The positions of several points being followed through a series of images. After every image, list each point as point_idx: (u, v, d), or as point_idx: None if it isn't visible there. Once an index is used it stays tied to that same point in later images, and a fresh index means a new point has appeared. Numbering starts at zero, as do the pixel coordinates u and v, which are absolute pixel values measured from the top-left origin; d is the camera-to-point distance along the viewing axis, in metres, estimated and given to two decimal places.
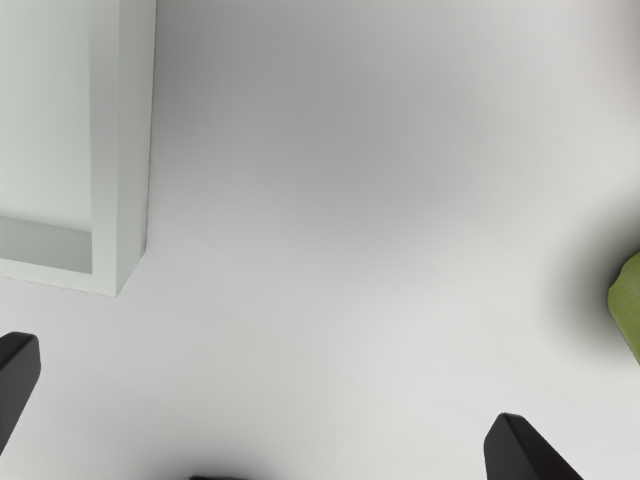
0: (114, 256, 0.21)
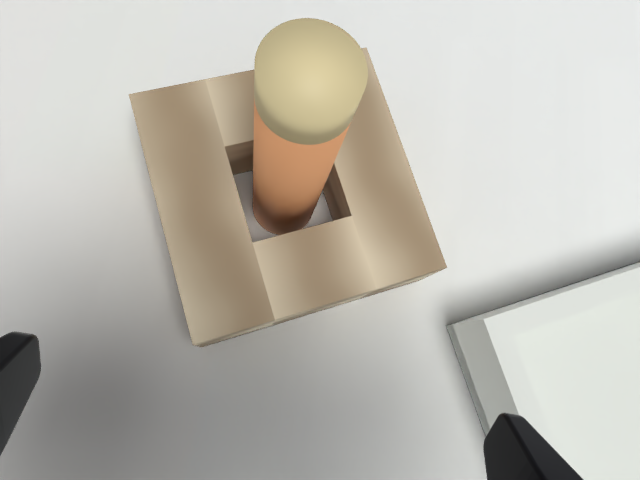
0: None
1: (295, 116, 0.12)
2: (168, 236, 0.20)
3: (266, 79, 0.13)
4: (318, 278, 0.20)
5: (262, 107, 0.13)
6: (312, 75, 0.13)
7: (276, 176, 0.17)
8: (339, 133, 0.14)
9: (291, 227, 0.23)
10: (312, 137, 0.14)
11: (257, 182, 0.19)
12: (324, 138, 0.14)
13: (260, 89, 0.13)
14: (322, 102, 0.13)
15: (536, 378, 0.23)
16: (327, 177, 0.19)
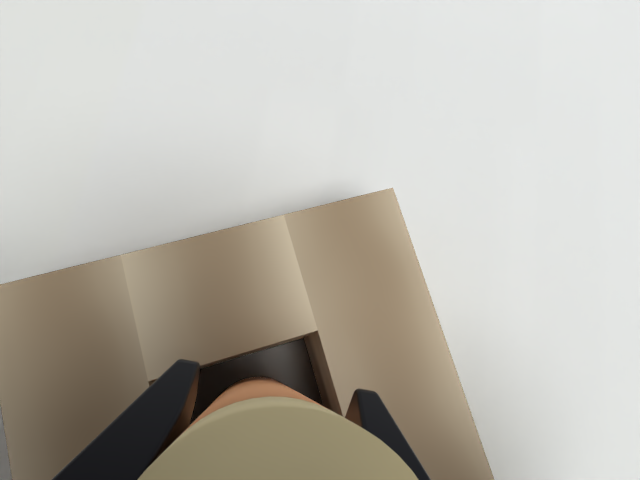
0: None
1: None
2: None
3: None
4: None
5: None
6: None
7: None
8: None
9: None
10: None
11: None
12: None
13: None
14: None
15: None
16: None
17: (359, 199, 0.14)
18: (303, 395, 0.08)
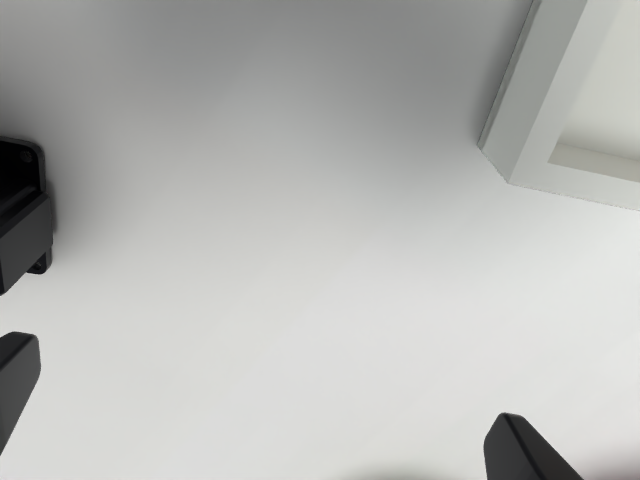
0: (566, 193, 0.17)
1: None
2: None
3: None
4: None
5: None
6: None
7: None
8: None
9: None
10: None
11: None
12: None
13: None
14: None
15: None
16: None
17: None
18: None
